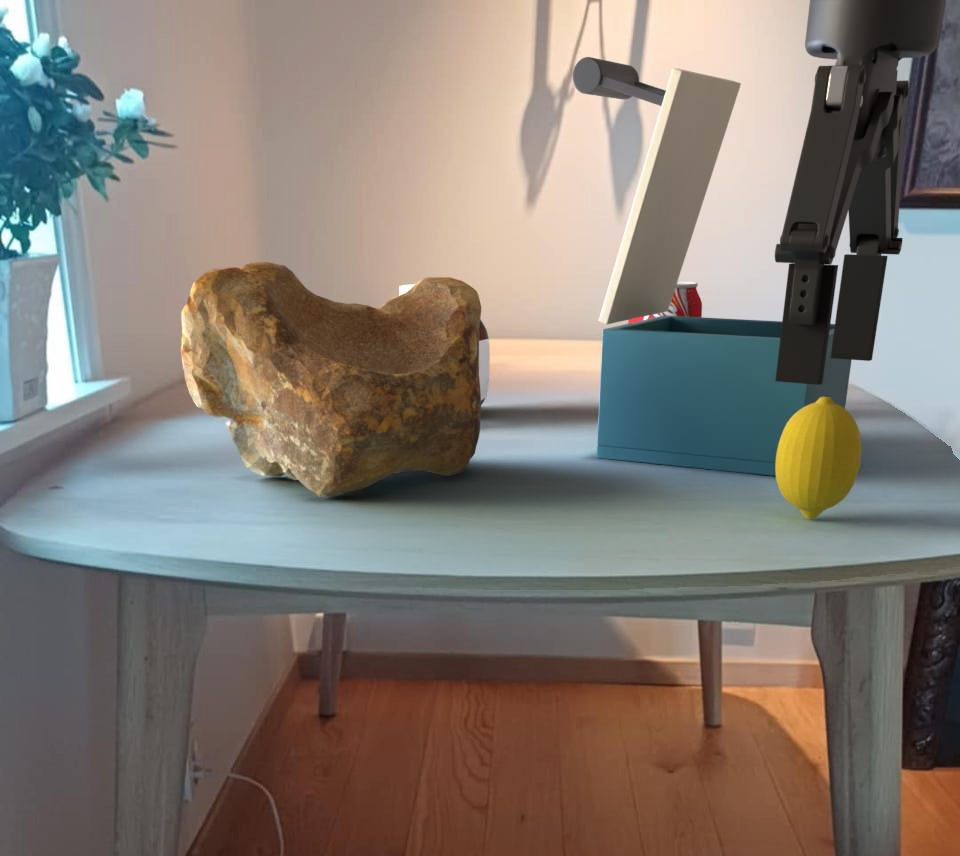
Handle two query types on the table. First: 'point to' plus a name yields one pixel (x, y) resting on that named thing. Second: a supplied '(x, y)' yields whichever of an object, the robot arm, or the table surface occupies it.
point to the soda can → (680, 303)
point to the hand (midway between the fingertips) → (826, 370)
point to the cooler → (702, 393)
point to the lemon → (818, 457)
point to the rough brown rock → (335, 376)
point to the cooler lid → (662, 179)
